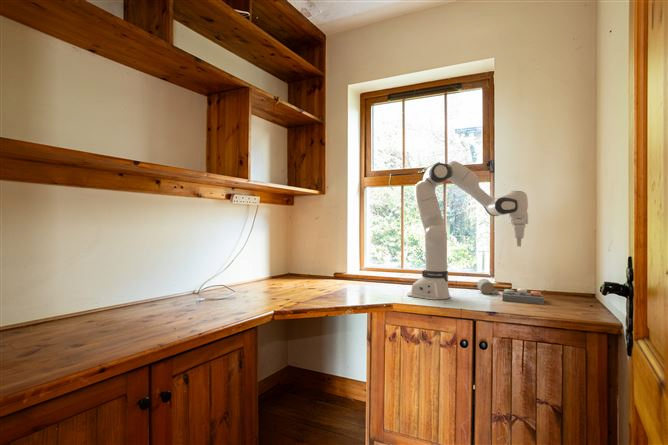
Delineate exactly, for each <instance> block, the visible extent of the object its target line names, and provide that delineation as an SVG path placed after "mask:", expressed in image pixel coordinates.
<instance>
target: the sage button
mask: <svg viewBox="0 0 668 445" xmlns="http://www.w3.org/2000/svg"><path fill="white" fill-rule="evenodd" d="M503 291H504V293H506V294H514V292H515V290H514V289H509V288H505V289H504V290H503Z"/></svg>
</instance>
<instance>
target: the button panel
mask: <svg viewBox="0 0 668 445" xmlns="http://www.w3.org/2000/svg"><path fill="white" fill-rule="evenodd" d="M501 301H502V302H509V303H523V304H524V303H525V304H531V305H532V304H534V305H544V304H545V298H544V296H543V294H542V293H541V296H533V295H531V292H527V293H524V295H520V293H519V292H517V291H514V294H506V293H504V290H502V300H501Z"/></svg>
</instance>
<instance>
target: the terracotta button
mask: <svg viewBox="0 0 668 445" xmlns="http://www.w3.org/2000/svg"><path fill="white" fill-rule="evenodd" d="M530 293H531V295H533V296H541V294H542V292H541V291H537V290H532V291H530Z"/></svg>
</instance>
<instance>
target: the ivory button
mask: <svg viewBox="0 0 668 445" xmlns="http://www.w3.org/2000/svg"><path fill="white" fill-rule="evenodd" d="M516 289H517V290H516V292H519V293H520V295H524V293H528V289H527V288H524V287H523V288H522V287H519V288H516Z"/></svg>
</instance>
